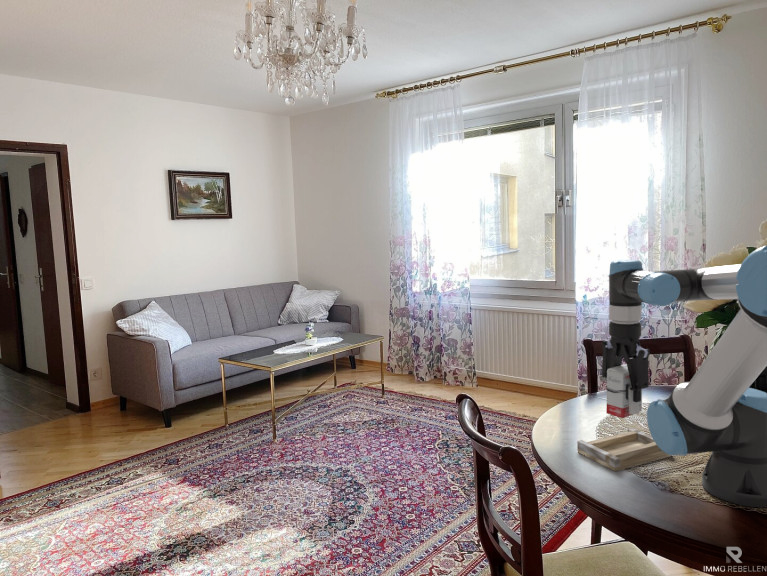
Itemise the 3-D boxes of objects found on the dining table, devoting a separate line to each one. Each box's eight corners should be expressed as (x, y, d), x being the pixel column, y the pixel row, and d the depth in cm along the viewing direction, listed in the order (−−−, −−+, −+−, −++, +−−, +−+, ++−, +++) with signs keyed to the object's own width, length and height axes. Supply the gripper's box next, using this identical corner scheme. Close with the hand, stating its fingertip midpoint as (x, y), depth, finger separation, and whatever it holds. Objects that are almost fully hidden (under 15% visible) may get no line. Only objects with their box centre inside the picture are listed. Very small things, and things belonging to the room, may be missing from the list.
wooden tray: (672, 455, 141) (672, 444, 140) (615, 471, 134) (615, 459, 133) (631, 438, 153) (631, 427, 152) (577, 451, 146) (577, 440, 145)
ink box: (623, 419, 138) (623, 372, 136) (605, 413, 142) (605, 369, 141) (643, 411, 142) (643, 366, 141) (625, 406, 146) (625, 363, 145)
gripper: (667, 325, 132) (665, 418, 135) (608, 314, 149) (608, 397, 152) (643, 328, 129) (642, 423, 132) (586, 317, 146) (586, 401, 149)
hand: (624, 409), depth 142 cm, fingers closed on ink box, 6 cm apart
